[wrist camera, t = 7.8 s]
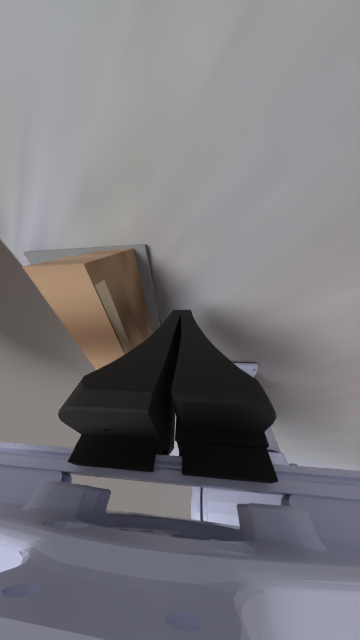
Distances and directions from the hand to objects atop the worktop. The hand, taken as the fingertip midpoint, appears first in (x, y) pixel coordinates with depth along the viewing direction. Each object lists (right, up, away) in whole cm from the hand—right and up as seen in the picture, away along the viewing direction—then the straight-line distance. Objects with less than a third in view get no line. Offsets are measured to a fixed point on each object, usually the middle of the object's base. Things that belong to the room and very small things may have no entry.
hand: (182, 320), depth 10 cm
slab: (-5, +2, +3) cm, 7 cm away
